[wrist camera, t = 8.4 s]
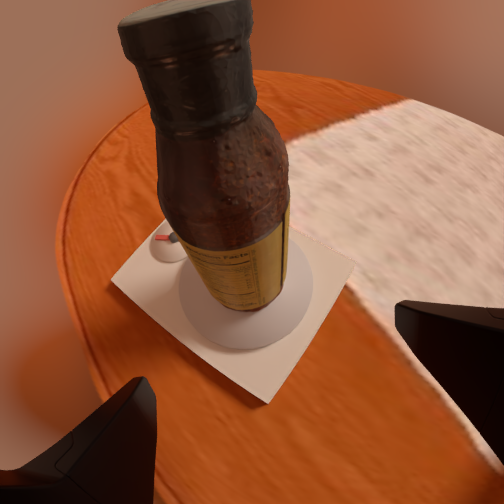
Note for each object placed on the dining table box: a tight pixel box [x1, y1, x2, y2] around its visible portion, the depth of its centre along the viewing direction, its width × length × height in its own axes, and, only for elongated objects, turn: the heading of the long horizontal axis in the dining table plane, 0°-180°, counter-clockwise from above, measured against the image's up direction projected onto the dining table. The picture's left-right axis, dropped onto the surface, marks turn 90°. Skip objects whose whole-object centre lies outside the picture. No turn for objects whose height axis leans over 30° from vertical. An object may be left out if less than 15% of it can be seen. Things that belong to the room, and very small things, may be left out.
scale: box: [111, 219, 356, 404], centre depth 24 cm, size 14×18×2 cm
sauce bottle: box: [118, 0, 290, 312], centre depth 14 cm, size 6×6×20 cm
